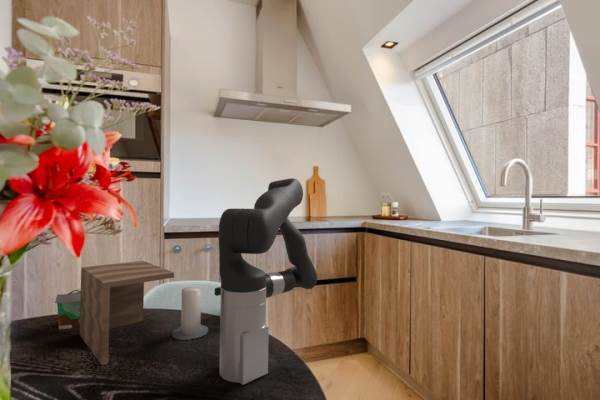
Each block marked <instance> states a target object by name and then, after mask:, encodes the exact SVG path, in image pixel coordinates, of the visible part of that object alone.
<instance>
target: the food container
mask: <svg viewBox="0 0 600 400" xmlns="http://www.w3.org/2000/svg"><path fill="white" fill-rule="evenodd" d="M80 302H81V288H80V289H74V290H72V291H70V292H68V293H65V294H62V293H61V294H56V297H55V302H54V303H55V304H56V305H57V308H56V309H57V322H58V332H59V333H61V332H62V333H64V332H65V333H66V332H72V331H78V330H80Z"/></svg>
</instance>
